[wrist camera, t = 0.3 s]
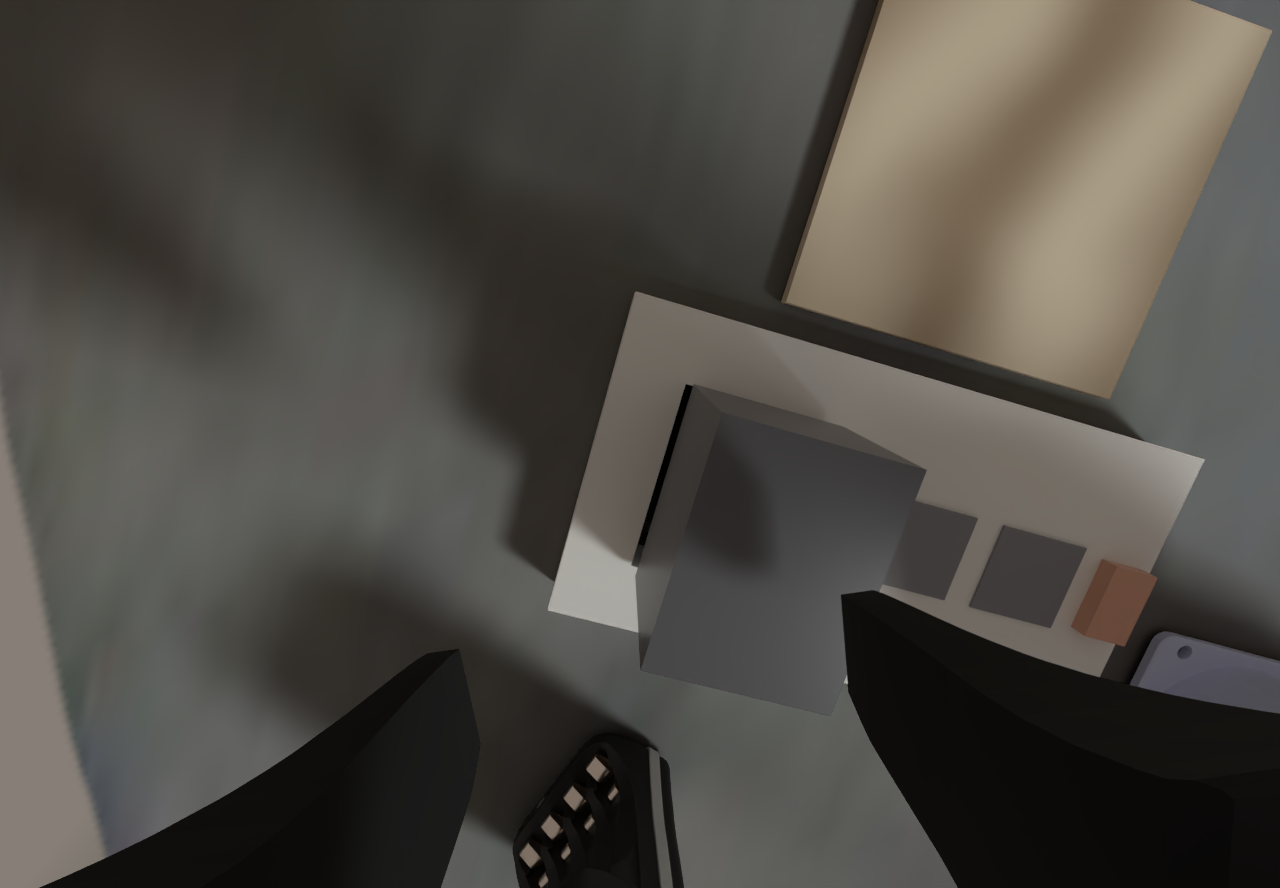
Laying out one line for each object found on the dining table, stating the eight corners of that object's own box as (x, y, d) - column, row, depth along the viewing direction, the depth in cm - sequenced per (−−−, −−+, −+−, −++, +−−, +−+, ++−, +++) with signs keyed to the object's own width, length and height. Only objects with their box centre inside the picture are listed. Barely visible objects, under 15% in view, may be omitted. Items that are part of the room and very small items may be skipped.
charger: (815, 412, 20) (926, 469, 13) (758, 577, 21) (830, 716, 14) (684, 374, 20) (722, 412, 13) (633, 545, 21) (640, 670, 14)
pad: (1251, 39, 18) (1272, 30, 18) (1095, 396, 20) (1109, 399, 20) (906, -86, 17) (916, -100, 17) (780, 302, 19) (786, 301, 19)
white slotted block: (1150, 445, 21) (1223, 464, 18) (1031, 702, 23) (1083, 751, 20) (634, 292, 19) (636, 290, 17) (554, 582, 21) (545, 619, 19)
